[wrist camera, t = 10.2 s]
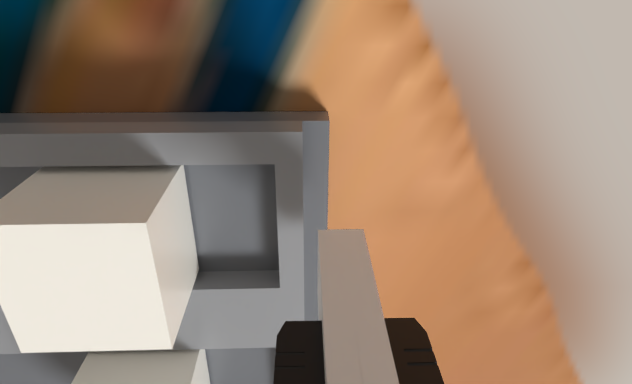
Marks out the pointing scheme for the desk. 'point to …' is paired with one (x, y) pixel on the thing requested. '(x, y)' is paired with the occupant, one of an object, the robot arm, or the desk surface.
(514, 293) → the desk surface
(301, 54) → the desk surface
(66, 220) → the tab
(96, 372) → the tab
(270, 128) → the dip bank
